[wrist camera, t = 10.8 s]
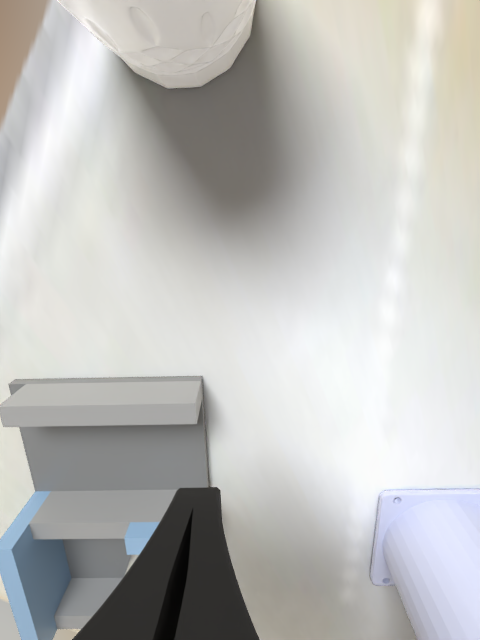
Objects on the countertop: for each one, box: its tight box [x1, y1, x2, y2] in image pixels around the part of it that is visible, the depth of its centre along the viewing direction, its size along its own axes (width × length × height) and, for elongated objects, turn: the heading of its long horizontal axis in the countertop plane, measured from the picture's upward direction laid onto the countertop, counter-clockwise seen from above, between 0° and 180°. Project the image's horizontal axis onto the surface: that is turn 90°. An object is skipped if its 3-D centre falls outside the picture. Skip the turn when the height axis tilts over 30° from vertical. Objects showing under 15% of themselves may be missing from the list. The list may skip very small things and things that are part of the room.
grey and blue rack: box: [0, 376, 209, 640], centre depth 21 cm, size 11×16×5 cm
